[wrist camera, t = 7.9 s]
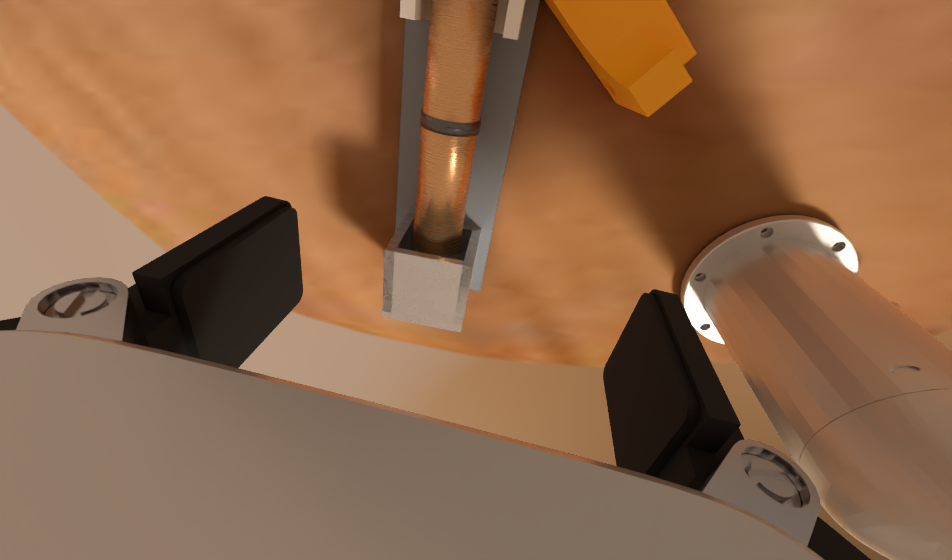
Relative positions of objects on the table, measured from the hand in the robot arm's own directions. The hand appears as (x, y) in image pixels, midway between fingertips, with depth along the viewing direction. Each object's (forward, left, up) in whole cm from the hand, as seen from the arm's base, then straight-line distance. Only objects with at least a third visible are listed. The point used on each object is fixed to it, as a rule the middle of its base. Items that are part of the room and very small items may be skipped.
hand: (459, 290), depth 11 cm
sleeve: (+3, +11, -20) cm, 23 cm away
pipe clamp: (-4, -8, -22) cm, 23 cm away
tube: (+3, +1, -19) cm, 19 cm away
